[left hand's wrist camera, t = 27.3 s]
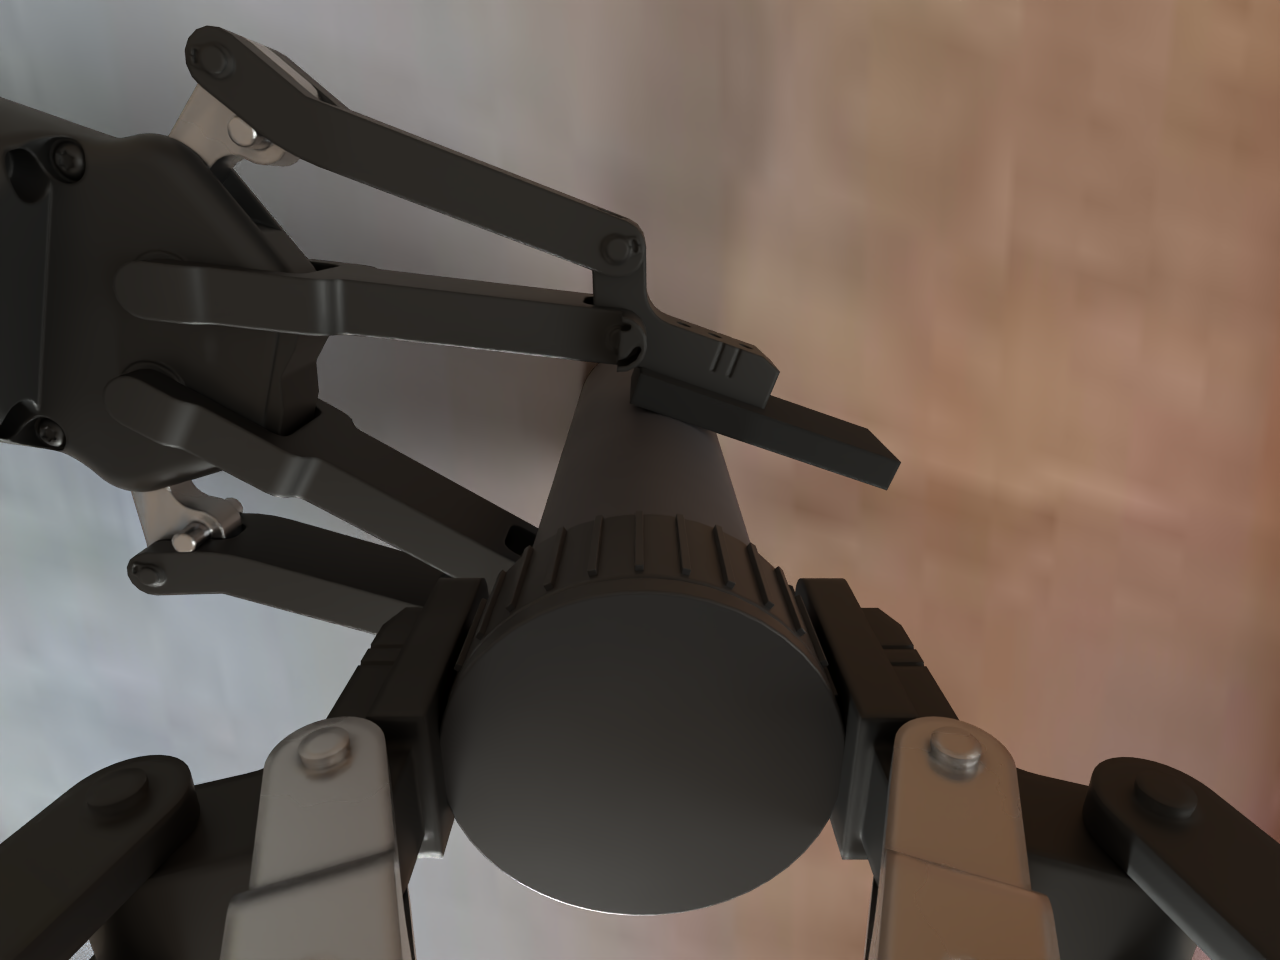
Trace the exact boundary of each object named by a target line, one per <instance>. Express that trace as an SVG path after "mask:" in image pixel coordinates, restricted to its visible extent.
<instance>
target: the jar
mask: <svg viewBox="0 0 1280 960" xmlns="http://www.w3.org/2000/svg"><path fill="white" fill-rule="evenodd" d="M633 370H634V368H633V369H631V370H629V371H625V372H617V365H613V364H605V363H599V364H598V365H596V367H595V368H594V369H593V370H592V371H591V373H590V374H589V376H588V377H587V379H586V381H585V383H584V385H583V388H582V391H581V394H580V397H579V401H578V404H577V407H576V410H575V413H574V417H573V420H572V423H571V426H570V429H569V433H568V436H567V439H566V442H565V445H564V449H563V452H562V455H561V458H560V461H559V464H558V468H557V471H556V474H555V477H554V480H553V484H552V487H551V490H550V493H549V496H548V500H547V503H546V506H545V509H544V512H543V516H542V519H541V522H540V525H539V528H538V532H537V535H536V538H535V541H534V544H533V548H534V547H535V546H536V545H538V544H539V543H541V542H543V541H544V540H546V539H548V538H550V537H552V536H553V535H555V534H556V533H557V529H559V528H561V527H563V526H564V528H565V529H569V528H571V527H574V526H576V525H579V524H582V523H585V522H589V521H593V520H595V516H598V515H603V518H605V517H612V516H619V515H626V514H636V511H643V514H655V515H665V516H674V517H676V514H682V515H684V519H687V520H692V521H696V522H699V523H702V524H705V525H708V526H710V527H713V528H714V526H715V525H718V526H721V527H722V529H723V532H725V533H727V534H729V535H731V536H733V537H734V538H736V539H738V540H740V541H742V542H743V543H744V544H746V545H748V544H749V543H750V540H749V537H748V534H747V531H746V527H745V524H744V521H743V518H742V515H741V511H740V508H739V505H738V502H737V498H736V495H735V492H734V489H733V486H732V482H731V479H730V476H729V473H728V470H727V466H726V463H725V460H724V457H723V454H722V450H721V447H720V444H719V441H718V438H717V434H716V433H715V432H712V431H710V430H707V429H704V428H701V427H698V426H695V425H692V424H689V423H686V422H683V421H680V420H677V419H674V418H671V417H668V416H665V415H662V414H659V413H656V412H653V411H650V410H647V409H644V408H641V407H638V406H635V405H632V404H630V388H631V376H632V373H633Z"/></svg>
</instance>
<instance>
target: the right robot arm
mask: <svg viewBox="0 0 1280 960" xmlns="http://www.w3.org/2000/svg"><path fill="white" fill-rule="evenodd" d="M185 57H186V64H187V67H188V69H189V71H190V73H191V76H192V77H193V78H194V79H195V80H196V82H197V83H198V84H197V86H196V88H195V90H194V91H193V93H192V95H191V97H190V99H189V100H188V102H187V104H186V106H185V108H184V109H183V111H182V113H181V115H180V116H179V118H178V120H177V122H176V124H175V125H174V127H173V129H172V131H171V133H170V134H169V136H165V135H160V134H139V135H134V136H130V137H125V138H116V137H113V136H110V135H107V134H104V133H101V132H98V131H96V130H93V129H90V128H87V127H84V126H81V125H79V124H76V123H73V122H70V121H67V120H64V119H61V118H59V117H56V116H53V115H50V114H47V113H44V112H42V111H39V110H36V109H33V108H30V107H27V106H24V105H22V104H19V103H16V102H13V101H10V100H7V99H5V98H2V97H0V442H2V443H9V444H16V445H23V446H30V447H37V448H44V449H50V450H55V451H59V452H63V453H65V454H68V455H69V456H71V457H73V458H75V459H77V460H78V461H80V462H82V463H83V464H85V465H86V466H87V467H89V468H90V469H91V470H93V471H94V472H95V473H96V474H97V475H99V476H100V477H101V478H102V479H104V480H105V481H107V482H108V483H110V484H112V485H114V486H116V487H118V488H121V489H124V490H128V491H131V493H132V496H133V499H134V503H135V506H136V509H137V512H138V516H139V519H140V522H141V526H142V529H143V532H144V536H145V539H146V542H147V548H145V549H144V550H143V551H141V552H140V553H138V554H137V555H136V556H134V557H133V558H132V559H130V561H129V563H128V566H127V572H128V576H129V578H130V580H131V582H132V583H133V584H134V585H135V586H136V587H137V588H138V589H139V590H141V591H143V592H145V593H147V594H152V595H187V594H226V595H230V596H234V597H238V598H241V599H245V600H249V601H252V602H256V603H260V604H263V605H267V606H271V607H275V608H278V609H282V610H286V611H289V612H293V613H297V614H300V615H304V616H308V617H312V618H315V619H319V620H323V621H326V622H330V623H334V624H337V625H341V626H345V627H349V628H352V629H356V630H360V631H363V632H367V633H371V634H374V635H377V633H378V632H379V630H380V628H381V627H382V625H383V624H384V623H386V622H387V621H388V620H390V619H391V618H392V617H394V616H395V615H396V614H398V613H399V612H400V611H402V610H403V609H404V608H406V607H424V605H425V603H426V601H427V599H428V597H429V595H430V594H431V592H432V590H433V588H434V586H435V584H436V582H437V581H438V579H439V578H485V580H486V582H487V586H488V593H489V596H490V594H491V592H492V589H493V587H494V584H495V582H496V579H497V576H498V574H499V573H500V572H501V570H504V571H505V572H507V571H508V570H509V569H510V568H511V567H512V566H513V565H514V564H515V563H516V562H517V561H518V560H519V559H520V558H521V557H522V555H523V552H524V549H525V548H526V547H528V546H529V545H530V546H531V547H532V548H533V544H534V541H535V538H536V535H537V532H538V528H537V527H535V526H533V525H531V524H529V523H528V522H526V521H524V520H522V519H520V518H518V517H517V516H515V515H513V514H511V513H509V512H508V511H506V510H504V509H502V508H500V507H498V506H497V505H495V504H493V503H491V502H489V501H488V500H486V499H484V498H482V497H480V496H478V495H477V494H475V493H473V492H471V491H469V490H468V489H466V488H464V487H462V486H460V485H458V484H457V483H455V482H453V481H451V480H449V479H447V478H446V477H444V476H442V475H440V474H438V473H437V472H435V471H433V470H431V469H429V468H427V467H426V466H424V465H422V464H420V463H418V462H417V461H415V460H413V459H411V458H409V457H407V456H406V455H404V454H402V453H400V452H398V451H397V450H395V449H393V448H391V447H389V446H387V445H386V444H384V443H382V442H380V441H378V440H377V439H375V438H373V437H371V436H369V435H367V434H366V433H364V432H362V431H360V430H359V429H357V428H356V427H355V426H354V424H353V421H352V419H351V418H350V417H349V416H348V415H346V414H345V413H343V412H342V411H340V410H338V409H337V408H335V407H333V406H331V405H329V404H327V403H326V402H324V401H322V400H320V399H318V393H319V389H318V377H317V366H316V360H317V358H318V356H319V354H320V352H321V350H322V348H323V346H324V344H325V342H326V340H327V339H328V337H329V336H330V335H354V336H363V337H372V338H381V339H390V340H399V341H408V342H417V343H426V344H435V345H444V346H453V347H462V348H471V349H480V350H488V351H497V352H506V353H515V354H524V355H533V356H542V357H551V358H560V359H569V360H578V361H587V362H596V363H605V364H613V365H617V372H625V371H629V370H631V369H633V368H634V370H633V373H632V376H631V388H630V404H632V405H635V406H638V407H641V408H644V409H647V410H650V411H653V412H656V413H659V414H662V415H665V416H668V417H671V418H674V419H677V420H680V421H683V422H686V423H689V424H692V425H695V426H698V427H701V428H704V429H707V430H710V431H712V432H715V433H718V434H721V435H724V436H727V437H730V438H733V439H736V440H739V441H742V442H745V443H748V444H751V445H754V446H757V447H760V448H763V449H766V450H769V451H772V452H775V453H778V454H781V455H784V456H787V457H790V458H793V459H796V460H799V461H801V462H804V463H807V464H810V465H813V466H816V467H819V468H822V469H825V470H828V471H831V472H834V473H837V474H840V475H843V476H846V477H849V478H852V479H855V480H858V481H861V482H864V483H867V484H870V485H873V486H876V487H879V488H882V489H885V490H887V489H888V487H889V485H890V483H891V481H892V479H893V477H894V475H895V473H896V471H897V469H898V467H899V465H900V463H901V462H900V461H899V460H898V459H897V458H896V457H895V456H894V455H893V454H892V453H891V452H890V451H889V450H888V449H887V448H886V447H885V446H884V445H883V444H882V443H881V442H880V441H879V440H878V439H877V438H876V437H875V436H874V435H873V434H872V433H871V432H870V431H869V430H868V429H866V428H864V427H861V426H858V425H855V424H852V423H849V422H846V421H843V420H841V419H838V418H835V417H832V416H829V415H826V414H823V413H820V412H817V411H815V410H812V409H809V408H806V407H803V406H800V405H797V404H794V403H792V402H789V401H786V400H783V399H780V398H777V397H774V396H771V395H770V394H771V392H772V389H773V387H774V385H775V382H776V380H777V378H778V375H779V373H780V371H779V370H778V369H777V368H776V367H775V365H774V364H773V363H772V362H771V360H770V359H769V358H768V357H766V356H765V355H764V354H763V353H762V352H761V351H760V350H759V349H758V348H757V347H755V346H754V345H751V344H748V343H745V342H743V341H740V340H737V339H733V338H731V337H729V336H726V335H723V334H720V333H717V332H714V331H712V330H709V329H706V328H703V327H700V326H698V325H695V324H692V323H689V322H686V321H683V320H681V319H678V318H675V317H672V316H669V315H667V314H665V313H663V312H661V311H660V310H658V309H657V308H656V307H655V306H654V305H653V303H652V302H651V300H650V299H649V296H648V293H647V288H646V244H645V238H644V234H643V232H642V230H641V229H640V227H639V226H638V224H636V223H635V222H633V221H632V220H630V219H628V218H626V217H623V216H621V215H618V214H616V213H613V212H611V211H608V210H605V209H603V208H600V207H598V206H595V205H593V204H590V203H587V202H585V201H582V200H580V199H577V198H575V197H572V196H570V195H567V194H564V193H562V192H559V191H557V190H554V189H552V188H549V187H546V186H544V185H541V184H539V183H536V182H534V181H531V180H528V179H526V178H523V177H521V176H518V175H516V174H513V173H511V172H508V171H505V170H503V169H500V168H498V167H495V166H493V165H490V164H487V163H485V162H482V161H480V160H477V159H475V158H472V157H470V156H467V155H464V154H462V153H459V152H457V151H454V150H452V149H449V148H446V147H444V146H441V145H439V144H436V143H434V142H431V141H429V140H426V139H423V138H421V137H418V136H416V135H413V134H411V133H408V132H405V131H403V130H400V129H398V128H395V127H393V126H390V125H387V124H385V123H382V122H380V121H377V120H375V119H372V118H370V117H367V116H364V115H362V114H359V113H357V112H354V111H352V110H349V109H348V108H347V107H346V106H345V105H344V104H342V103H341V102H340V101H339V100H338V99H336V98H335V97H334V96H333V95H332V94H330V93H329V92H328V91H327V90H326V89H325V88H323V87H322V86H321V85H320V84H319V83H317V82H316V81H315V80H314V79H313V78H311V77H310V76H309V75H308V74H307V73H305V72H304V71H303V70H302V69H301V68H300V67H298V66H297V65H296V64H295V63H294V62H292V61H291V60H290V59H289V58H288V57H286V56H285V55H283V54H281V53H280V52H278V51H276V50H273V49H271V48H269V47H266V46H264V45H261V44H259V43H257V42H254V41H252V40H249V39H247V38H244V37H242V36H239V35H237V34H235V33H232V32H230V31H227V30H225V29H222V28H220V27H214V26H204V27H202V28H199V29H196V30H195V31H194V32H193V33H192V35H191V36H190V37H189V38H188V41H187V44H186V48H185ZM244 158H245V159H247V160H249V161H251V162H253V163H256V164H261V165H270V166H281V167H284V166H290V165H292V164H294V163H296V162H297V161H298V160H299V159H302V160H305V161H307V162H309V163H311V164H314V165H316V166H318V167H321V168H324V169H326V170H329V171H331V172H334V173H337V174H339V175H342V176H345V177H347V178H350V179H353V180H355V181H358V182H361V183H363V184H366V185H368V186H371V187H374V188H376V189H379V190H382V191H384V192H387V193H390V194H392V195H395V196H398V197H400V198H403V199H405V200H408V201H411V202H413V203H416V204H419V205H421V206H424V207H427V208H429V209H432V210H435V211H437V212H440V213H442V214H445V215H448V216H450V217H453V218H456V219H458V220H461V221H464V222H466V223H469V224H472V225H474V226H477V227H479V228H482V229H485V230H487V231H490V232H493V233H495V234H498V235H501V236H503V237H506V238H509V239H511V240H514V241H517V242H519V243H522V244H524V245H527V246H530V247H532V248H535V249H538V250H540V251H543V252H546V253H548V254H551V255H554V256H556V257H559V258H561V259H564V260H567V261H569V262H572V263H575V264H577V265H580V266H583V267H585V268H588V269H591V270H592V274H593V294H587V293H579V292H570V291H561V290H553V289H544V288H536V287H527V286H518V285H510V284H501V283H492V282H484V281H475V280H466V279H458V278H449V277H441V276H432V275H423V274H415V273H406V272H397V271H389V270H381V269H377V268H375V267H372V266H366V265H358V264H350V263H341V262H333V261H324V260H315V259H307V258H306V257H305V255H304V254H303V253H302V252H301V251H300V249H299V248H298V247H297V246H296V245H295V243H294V242H293V241H292V240H291V238H290V237H289V236H288V235H287V234H286V232H285V231H284V230H283V229H282V228H281V226H280V225H279V224H278V223H277V221H276V220H275V219H274V218H273V217H272V215H271V214H270V213H269V212H268V211H267V209H266V208H265V207H264V206H263V204H262V203H261V202H260V201H259V200H258V198H257V197H256V196H255V195H254V194H253V192H252V191H251V190H250V189H249V188H248V186H247V185H246V184H245V183H244V181H243V180H242V179H241V178H240V177H239V175H238V174H237V173H236V172H235V171H234V169H233V167H234V166H235V165H236V163H237V162H239V161H241V160H242V159H244ZM222 470H223V471H225V472H227V473H229V474H231V475H233V476H235V477H236V478H238V479H240V480H242V481H244V482H246V483H248V484H250V485H252V486H254V487H256V488H258V489H260V490H262V491H263V492H265V493H268V494H270V495H273V496H276V497H282V498H288V497H296V498H301V499H303V500H306V501H307V502H309V503H311V504H313V505H315V506H317V507H319V508H321V509H323V510H325V511H327V512H329V513H330V514H332V515H334V516H336V517H338V518H340V519H342V520H344V521H346V522H348V523H350V524H352V525H353V526H355V527H357V528H359V529H361V530H363V531H365V532H367V533H369V534H371V535H373V536H375V537H376V538H378V539H380V540H382V541H384V542H386V543H388V544H390V545H392V546H394V547H396V548H398V549H399V550H396V549H393V548H389V547H386V546H382V545H379V544H375V543H371V542H368V541H364V540H361V539H357V538H354V537H350V536H347V535H343V534H340V533H336V532H333V531H329V530H326V529H322V528H319V527H315V526H312V525H308V524H305V523H301V522H298V521H294V520H290V519H286V518H282V517H278V516H272V515H265V514H253V513H242V512H243V507H242V505H241V503H240V502H239V501H238V500H237V499H234V498H226V499H222V498H218V497H213V496H209V495H207V494H205V493H203V492H201V491H200V490H199V489H198V488H196V486H195V485H194V484H193V482H192V480H193V479H196V478H199V477H203V476H206V475H209V474H213V473H216V472H219V471H222ZM400 550H401V551H400ZM788 586H789V588H790V589H791V591H792V593H793V594H794V596H795V591H794V589H793V586H791V585H788Z"/></svg>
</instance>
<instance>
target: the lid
mask: <svg viewBox="0 0 1280 960" xmlns="http://www.w3.org/2000/svg"><path fill="white" fill-rule="evenodd" d="M827 666H828V662H827V659H826V657H825V654H824V652H823V649H822V647H821V644H820V642H819V639H818V637H817V634H816V632H815V629H814V627H813V624H812V622H811V619H810V617H809V614H808V612H807V609H806V607H805V604H804V602H803V599H802V598H801V596H800V595H797V596H794V594H793V593H792V591H791V589H790V588H789V586H788V583H787V580H786V578H785V575H784V572H783V570H782V569H781V568H780V567H779V566H778V567H777V568H774V567H773V566H772V565H771V564H770V563H769V562H767V561H766V560H765V559H764V558H763V557H762V556H761V555H760V554H759V553H758V552H757V549H756V546H755V545H753V544H752V543H749V544H748V545H746V544H744V543H743V542H742V541H740V540H738V539H736V538H734V537H733V536H731V535H729V534H727V533H725V532H723V529H722V527H721V526H718V525H715V526H714V528H713V527H710V526H708V525H705V524H702V523H699V522H696V521H692V520H687V519H684V515H682V514H676V517H674V516H665V515H655V514H643V511H636V514H626V515H619V516H612V517H605V518H603V515H598V516H595V520H593V521H589V522H585V523H582V524H579V525H576V526H574V527H571V528H569V529H565V528H564V526H563V527H561V528H559V529H557V533H556V534H555V535H553V536H552V537H550V538H548V539H546V540H544V541H543V542H541V543H539V544H538V545H536V546H535V547H534V548H532V547H531V546H530V545H529V546H528V547H526V548H525V549H524V552H523V555H522V557H521V558H520V559H519V560H518V561H517V562H516V563H515V564H514V565H513V566H512V567H511V568H510V569H509V570H508V571H507V572H505V571H504V570H501V572H500V573H499V574H498V576H497V579H496V582H495V584H494V587H493V589H492V592H491V594H490V596H489V598H488V600H486V599H483V598H482V600H481V602H480V604H479V606H478V609H477V611H476V614H475V616H474V619H473V621H472V624H471V626H470V629H469V632H468V634H467V637H466V639H465V642H464V644H463V647H462V649H461V652H460V654H459V657H458V659H457V662H456V664H455V667H454V670H456V671H458V672H457V675H456V678H455V680H454V683H453V686H452V688H451V691H450V693H449V696H448V699H447V700H448V702H447V705H446V708H445V711H444V714H443V716H442V720H441V726H440V733H439V738H440V748H441V756H442V764H443V772H444V780H445V789H446V796H447V802H448V805H449V807H450V809H451V811H452V813H453V815H454V817H455V819H456V821H457V823H458V824H459V826H460V827H461V829H462V830H463V832H464V833H465V834H466V836H467V837H468V839H469V840H470V841H471V842H472V844H473V845H474V846H475V847H476V848H477V849H478V850H479V851H480V852H481V853H482V854H483V856H484V857H486V858H487V859H488V860H489V861H490V862H491V863H493V864H494V865H495V866H496V867H497V868H498V869H500V870H501V871H502V872H504V873H505V874H507V875H508V876H510V877H511V878H513V879H514V880H516V881H517V882H519V883H520V884H522V885H524V886H526V887H528V888H530V889H532V890H534V891H535V892H537V893H539V894H541V895H544V896H546V897H549V898H552V899H554V900H557V901H559V902H562V903H565V904H568V905H572V906H576V907H579V908H583V909H587V910H592V911H598V912H604V913H609V914H621V915H634V916H635V915H664V914H673V913H682V912H687V911H692V910H697V909H702V908H706V907H709V906H713V905H716V904H719V903H722V902H725V901H729V900H731V899H733V898H736V897H738V896H740V895H743V894H745V893H747V892H750V891H751V890H753V889H755V888H757V887H759V886H760V885H762V884H764V883H766V882H768V881H769V880H771V879H772V878H774V877H775V876H776V875H778V874H779V873H781V872H782V871H783V870H785V869H786V868H788V867H789V866H790V865H791V864H792V863H793V862H794V861H795V860H797V859H798V858H799V857H800V856H801V855H802V854H803V853H804V852H805V851H806V850H807V849H808V848H809V846H810V845H811V844H812V843H813V842H814V840H815V839H816V838H817V837H818V836H819V834H820V833H821V831H822V829H823V828H824V826H825V825H826V823H827V822H828V820H829V818H830V817H831V815H832V812H833V810H834V808H835V805H836V803H837V799H838V793H839V785H840V777H841V769H842V761H843V753H844V744H845V728H844V724H843V719H842V715H841V711H840V709H839V706H838V703H837V696H838V694H837V691H836V689H835V686H834V684H833V681H832V679H831V676H830V673H829V671H828V668H827Z"/></svg>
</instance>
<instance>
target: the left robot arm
mask: <svg viewBox="0 0 1280 960" xmlns="http://www.w3.org/2000/svg"><path fill="white" fill-rule="evenodd" d="M797 595H800V596H801V598H802V599H803V602H804V604H805V607H806V609H807V612H808V614H809V617H810V619H811V622H812V624H813V627H814V629H815V632H816V634H817V637H818V639H819V642H820V644H821V647H822V649H823V652H824V654H825V657H826V659H827V662H828V666H827V668H828V671H829V673H830V676H831V679H832V681H833V684H834V686H835V689H836V691H837V694H838V696H837V703H838V706H839V709H840V711H841V715H842V719H843V724H844V728H845V744H844V753H843V761H842V769H841V777H840V785H839V793H838V799H837V803H836V805H835V808H834V810H833V812H832V815H831V817H830V821H831V824H832V827H833V831H834V834H835V837H836V841H837V844H838V847H839V850H840V854H841V857H842V859H868V861H869V864H870V866H871V869H872V872H873V875H874V876H873V883H872V889H871V896H870V903H869V913H868V922H867V931H866V941H865V950H864V959H863V960H1191V959H1192V956H1193V954H1194V951H1195V949H1196V946H1198V947H1199V948H1200V949H1201V950H1202V951H1203V952H1204V953H1205V954H1206V955H1207V956H1208V957H1209V958H1210V959H1211V960H1280V844H1279V843H1278V842H1276V841H1275V840H1274V839H1273V838H1271V837H1270V836H1269V835H1268V834H1266V833H1265V832H1264V831H1263V830H1261V829H1260V828H1259V827H1258V826H1256V825H1255V824H1254V823H1252V822H1251V821H1250V820H1249V819H1247V818H1246V817H1245V816H1244V815H1242V814H1241V813H1240V812H1239V811H1237V810H1236V809H1235V808H1234V807H1232V806H1231V805H1230V804H1229V803H1227V802H1226V801H1225V800H1224V799H1222V798H1221V797H1220V796H1218V795H1217V794H1216V793H1215V792H1213V791H1212V790H1211V789H1209V788H1208V787H1207V786H1205V785H1204V784H1202V783H1201V782H1199V781H1198V780H1196V779H1194V778H1193V777H1191V776H1189V775H1187V774H1185V773H1183V772H1181V771H1179V770H1177V769H1174V768H1172V767H1169V766H1167V765H1164V764H1161V763H1157V762H1154V761H1150V760H1146V759H1140V758H1133V757H1118V758H1111V759H1108V760H1105V761H1103V762H1101V763H1099V764H1098V765H1097V766H1096V767H1095V769H1094V771H1093V773H1092V777H1091V780H1090V784H1089V786H1086V785H1081V784H1077V783H1073V782H1068V781H1064V780H1059V779H1055V778H1051V777H1046V776H1042V775H1038V774H1034V773H1030V772H1027V771H1024V770H1021V769H1019V768H1016V766H1015V762H1014V760H1013V758H1012V756H1011V754H1010V753H1009V751H1008V750H1007V749H1006V748H1005V747H1004V746H1003V745H1002V744H1001V743H1000V742H999V741H998V740H997V739H996V738H994V737H993V736H992V735H990V734H989V733H987V732H985V731H984V730H982V729H980V728H978V727H976V726H974V725H971V724H968V723H966V722H963V721H959V719H958V717H957V716H956V714H955V713H954V711H953V709H952V708H951V706H950V704H949V703H948V701H947V699H946V698H945V696H944V695H943V693H942V691H941V690H940V688H939V686H938V685H937V683H936V681H935V680H934V678H933V676H932V675H931V673H930V672H929V670H928V668H927V667H926V666H924V662H923V660H922V658H921V657H920V655H919V653H918V652H917V650H916V649H914V647H913V646H914V645H913V644H912V642H911V640H910V639H909V637H908V635H907V634H906V632H905V631H904V629H903V627H902V626H901V625H900V624H899V623H898V622H896V621H895V620H894V619H892V618H891V617H890V616H888V615H887V614H885V613H884V612H883V611H881V610H880V609H879V608H861V607H860V605H859V603H858V602H857V600H856V598H855V596H854V594H853V592H852V590H851V589H850V587H849V585H848V583H847V581H846V580H845V579H843V578H800V579H799V580H798V582H797V585H796V590H795V596H797ZM482 598H483V599H486V600H488V598H489V593H488V586H487V582H486V580H485V578H439V579H438V581H437V582H436V584H435V586H434V588H433V590H432V592H431V594H430V595H429V597H428V599H427V601H426V603H425V605H424V607H406V608H404V609H403V610H402V611H400V612H399V613H398V614H396V615H395V616H394V617H392V618H391V619H390V620H388V621H387V622H386V623H384V624H383V625H382V627H381V628H380V630H379V632H378V633H377V635H376V637H375V638H374V640H373V642H372V643H371V649H368V650H367V652H366V653H365V655H364V657H363V658H362V660H361V665H358V667H357V668H356V670H355V672H354V673H353V675H352V677H351V678H350V680H349V682H348V683H347V685H346V687H345V688H344V690H343V692H342V693H341V695H340V697H339V698H338V700H337V702H336V703H335V705H334V707H333V708H332V710H331V712H330V713H329V715H328V717H327V718H326V719H324V720H321V721H317V722H314V723H312V724H309V725H306V726H304V727H302V728H300V729H298V730H296V731H295V732H293V733H292V734H290V735H288V736H287V737H286V738H284V739H283V740H282V741H281V742H280V743H279V744H278V745H277V746H276V747H275V748H274V749H273V750H272V751H271V753H270V754H269V756H268V758H267V760H266V762H265V766H264V768H263V769H261V770H258V771H254V772H250V773H247V774H242V775H238V776H234V777H229V778H225V779H220V780H216V781H212V782H207V783H203V784H198V785H194V783H193V779H192V776H191V772H190V770H189V768H188V766H187V765H186V764H185V763H184V762H183V761H182V760H180V759H178V758H175V757H172V756H166V755H148V756H141V757H136V758H132V759H128V760H125V761H121V762H118V763H115V764H113V765H110V766H108V767H106V768H103V769H101V770H99V771H97V772H95V773H93V774H91V775H90V776H88V777H86V778H85V779H83V780H81V781H80V782H79V783H77V784H76V785H74V786H73V787H72V788H70V789H69V790H68V791H67V792H65V793H64V794H63V795H62V796H60V797H59V798H58V799H57V800H55V801H54V802H53V803H51V804H50V805H49V806H48V807H46V808H45V809H44V810H43V811H41V812H40V813H39V814H38V815H36V816H35V817H34V818H33V819H31V820H30V821H29V822H28V823H26V824H25V825H24V826H22V827H21V828H20V829H19V830H17V831H16V832H15V833H14V834H12V835H11V836H10V837H9V838H7V839H6V840H5V841H4V842H2V843H1V844H0V960H69V959H70V958H71V957H72V956H73V955H74V954H75V953H76V952H77V951H78V950H79V949H80V948H81V947H82V946H83V945H84V944H85V943H86V942H87V941H88V940H89V941H90V944H91V946H92V949H93V951H94V955H93V956H92V957H91V958H90V959H89V960H417V959H416V950H415V941H414V931H413V922H412V913H411V903H410V896H409V889H408V883H409V880H410V877H411V875H412V872H413V869H414V866H415V863H416V860H417V858H443V855H444V852H445V848H446V845H447V842H448V838H449V835H450V831H451V828H452V825H453V821H454V818H455V817H454V815H453V813H452V811H451V809H450V807H449V805H448V802H447V796H446V789H445V780H444V772H443V764H442V756H441V748H440V738H439V733H440V726H441V720H442V716H443V714H444V711H445V708H446V705H447V702H448V700H447V699H448V696H449V693H450V691H451V688H452V686H453V683H454V680H455V678H456V675H457V672H458V671H456V670H454V667H455V664H456V662H457V659H458V657H459V654H460V652H461V649H462V647H463V644H464V642H465V639H466V637H467V634H468V632H469V629H470V626H471V624H472V621H473V619H474V616H475V614H476V611H477V609H478V606H479V604H480V602H481V600H482Z"/></svg>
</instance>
